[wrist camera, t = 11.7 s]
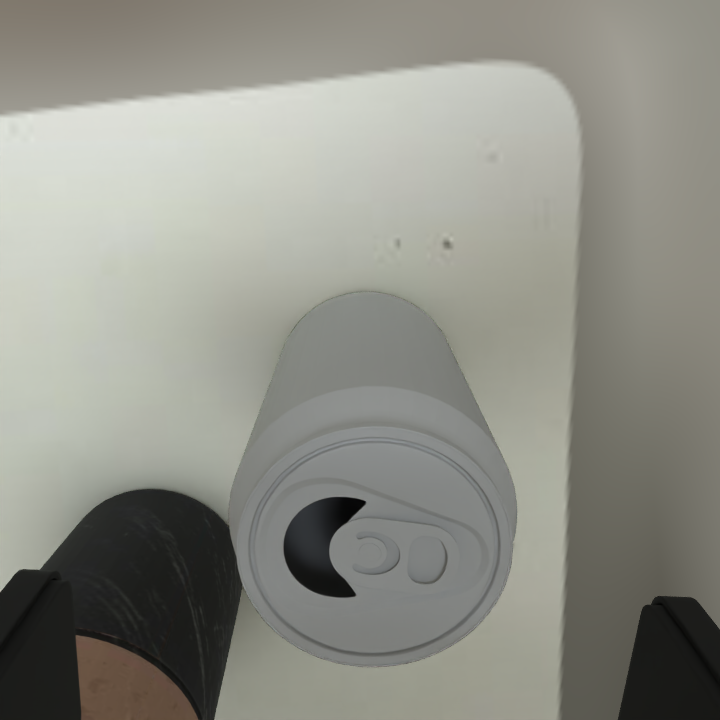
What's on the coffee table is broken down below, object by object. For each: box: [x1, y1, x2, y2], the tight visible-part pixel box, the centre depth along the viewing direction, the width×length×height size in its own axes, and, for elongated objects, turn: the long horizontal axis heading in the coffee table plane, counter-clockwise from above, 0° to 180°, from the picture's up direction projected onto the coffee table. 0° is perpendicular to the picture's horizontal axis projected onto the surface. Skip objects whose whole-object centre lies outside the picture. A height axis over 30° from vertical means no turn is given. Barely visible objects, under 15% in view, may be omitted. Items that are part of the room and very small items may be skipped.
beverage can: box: [229, 292, 517, 667], centre depth 19 cm, size 6×6×12 cm
